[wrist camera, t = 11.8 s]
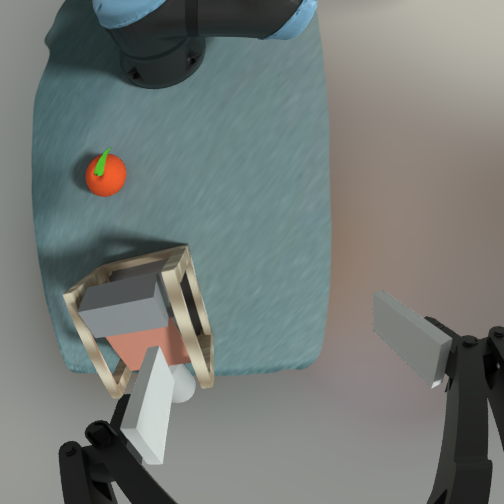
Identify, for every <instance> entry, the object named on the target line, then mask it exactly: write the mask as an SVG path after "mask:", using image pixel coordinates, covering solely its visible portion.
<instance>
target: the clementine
mask: <svg viewBox="0 0 504 504" xmlns="http://www.w3.org/2000/svg"><path fill="white" fill-rule="evenodd" d="M111 148H112V147H111ZM111 148H109V149H107V150H106V151H105V152H104V154H103V155H99V156H98V157H96V158H95V159H93V160H92V161H91V163H90V164H89V166H88V168H87V170H86V176H85V177H86V183H87V186H88V187H89V189H90V190H91V191H92V192H93V193H94V194H96V195H98V196H103V197H107V196H111V195H113V194H115V193H117V192H118V191H119V190H120V189H121V188H122V186H123V185H124V182H125V180H126V168H125V165H124V163H123V162H122V160H121V159H119V158H118V157H117V156H115V155H112V154H108V152H109V150H110V149H111Z"/></svg>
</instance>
